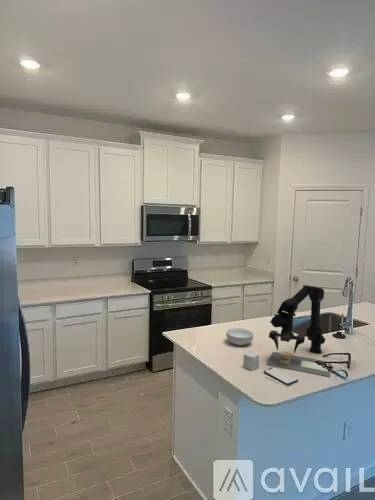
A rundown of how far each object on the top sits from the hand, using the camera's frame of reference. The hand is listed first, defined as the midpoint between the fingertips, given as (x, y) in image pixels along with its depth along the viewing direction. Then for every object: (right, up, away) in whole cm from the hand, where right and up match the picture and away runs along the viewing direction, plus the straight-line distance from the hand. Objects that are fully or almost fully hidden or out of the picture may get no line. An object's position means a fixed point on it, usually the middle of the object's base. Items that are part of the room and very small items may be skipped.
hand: (285, 351), depth 191 cm
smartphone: (-8, -8, -18) cm, 22 cm away
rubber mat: (+7, -6, -3) cm, 9 cm away
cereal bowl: (-22, -3, +26) cm, 34 cm away
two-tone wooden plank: (0, -5, 0) cm, 5 cm away
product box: (-21, -6, -8) cm, 24 cm away
